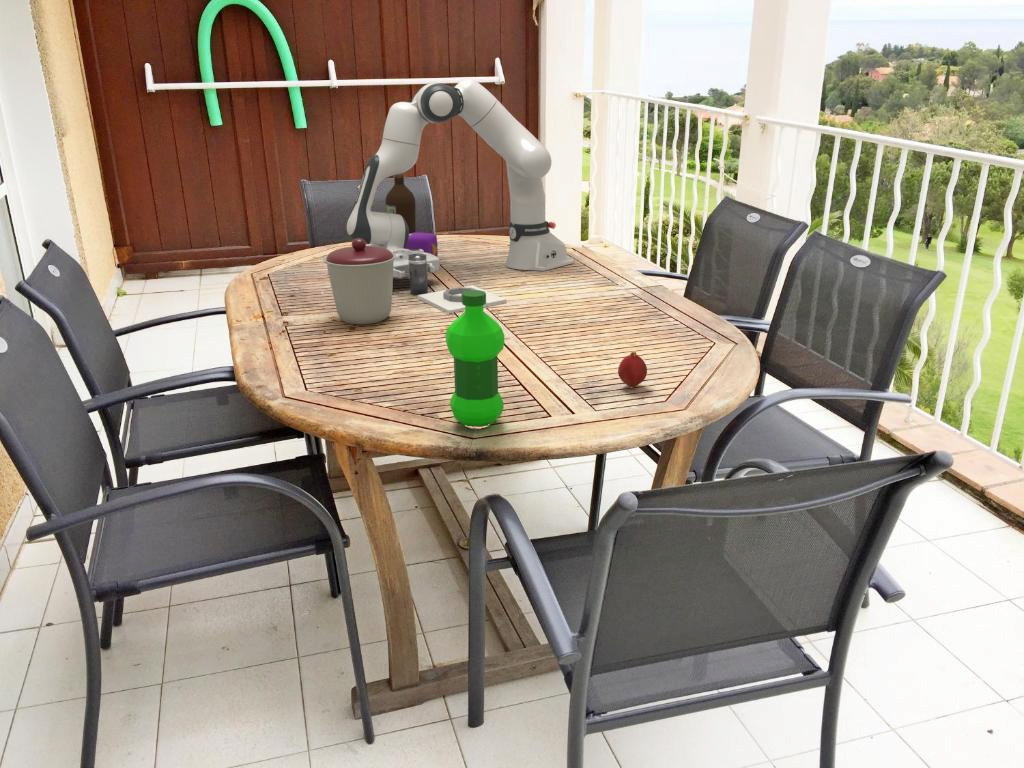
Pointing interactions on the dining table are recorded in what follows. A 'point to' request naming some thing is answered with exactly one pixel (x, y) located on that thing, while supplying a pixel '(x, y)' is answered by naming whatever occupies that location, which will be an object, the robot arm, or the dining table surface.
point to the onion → (632, 370)
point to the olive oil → (402, 202)
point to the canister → (361, 282)
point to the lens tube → (418, 273)
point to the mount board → (457, 305)
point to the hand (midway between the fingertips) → (417, 272)
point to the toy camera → (423, 242)
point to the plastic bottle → (475, 362)
